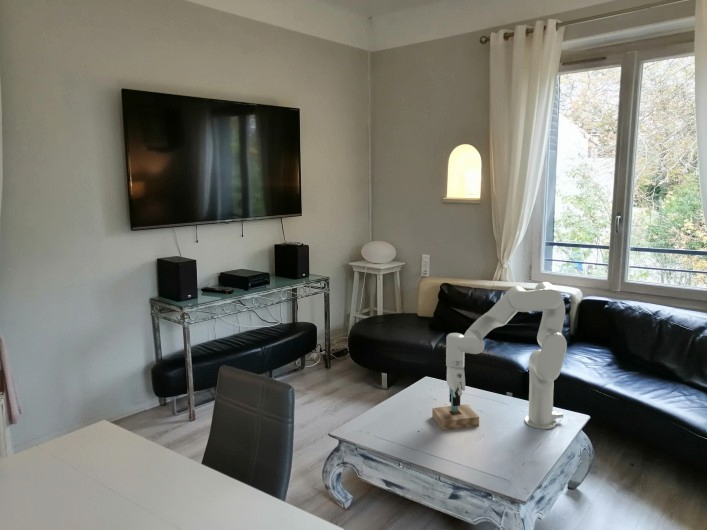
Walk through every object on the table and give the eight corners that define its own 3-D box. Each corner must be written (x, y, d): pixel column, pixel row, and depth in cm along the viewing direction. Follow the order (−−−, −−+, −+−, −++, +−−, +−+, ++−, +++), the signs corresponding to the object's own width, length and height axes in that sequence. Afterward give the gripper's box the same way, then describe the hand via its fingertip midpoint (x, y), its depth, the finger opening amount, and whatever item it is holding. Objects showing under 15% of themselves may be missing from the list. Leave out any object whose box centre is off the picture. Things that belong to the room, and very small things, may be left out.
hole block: (466, 412, 239) (466, 404, 238) (479, 425, 226) (479, 416, 225) (432, 416, 236) (432, 408, 235) (442, 430, 223) (442, 421, 222)
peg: (456, 408, 232) (456, 386, 230) (459, 411, 229) (459, 389, 227) (450, 409, 231) (450, 387, 230) (452, 412, 228) (452, 390, 227)
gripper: (471, 368, 219) (470, 411, 222) (456, 355, 235) (455, 395, 238) (454, 370, 218) (453, 412, 221) (440, 357, 234) (439, 397, 237)
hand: (454, 403), depth 230 cm, fingers closed on peg, 3 cm apart
